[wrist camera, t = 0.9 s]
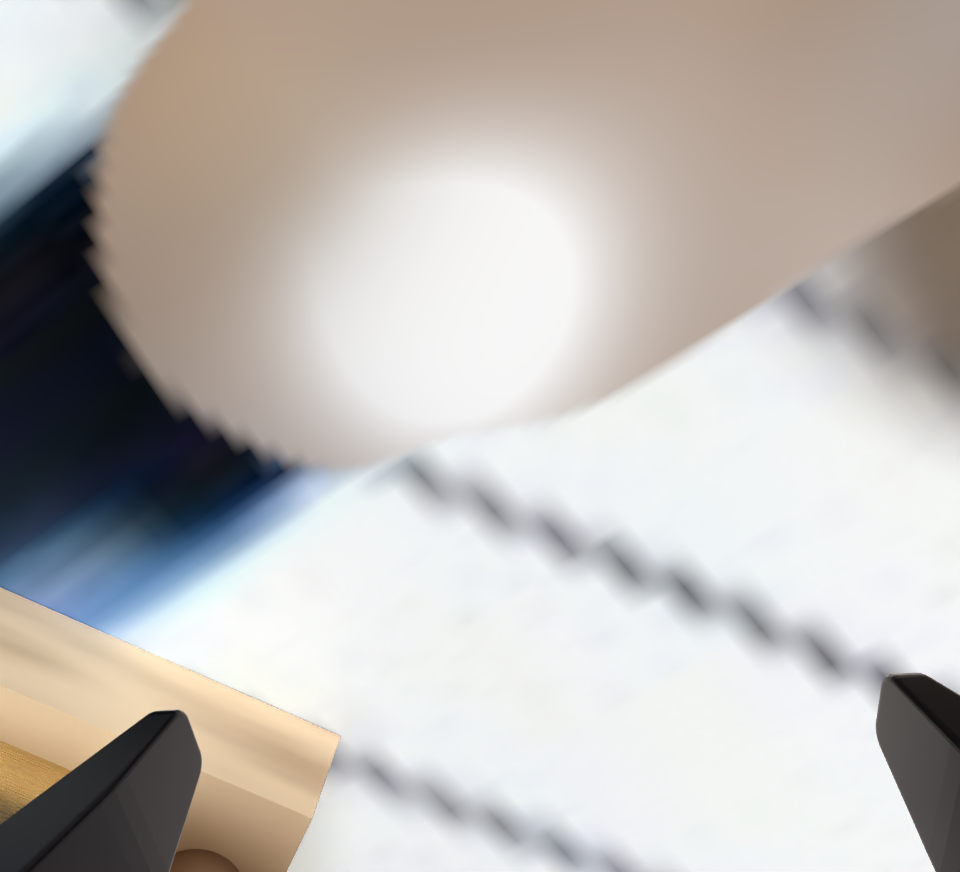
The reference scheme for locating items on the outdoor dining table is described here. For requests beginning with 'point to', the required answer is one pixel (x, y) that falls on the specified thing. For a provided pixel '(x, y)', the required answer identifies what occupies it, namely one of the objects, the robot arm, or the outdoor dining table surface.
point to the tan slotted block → (23, 778)
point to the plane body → (156, 687)
